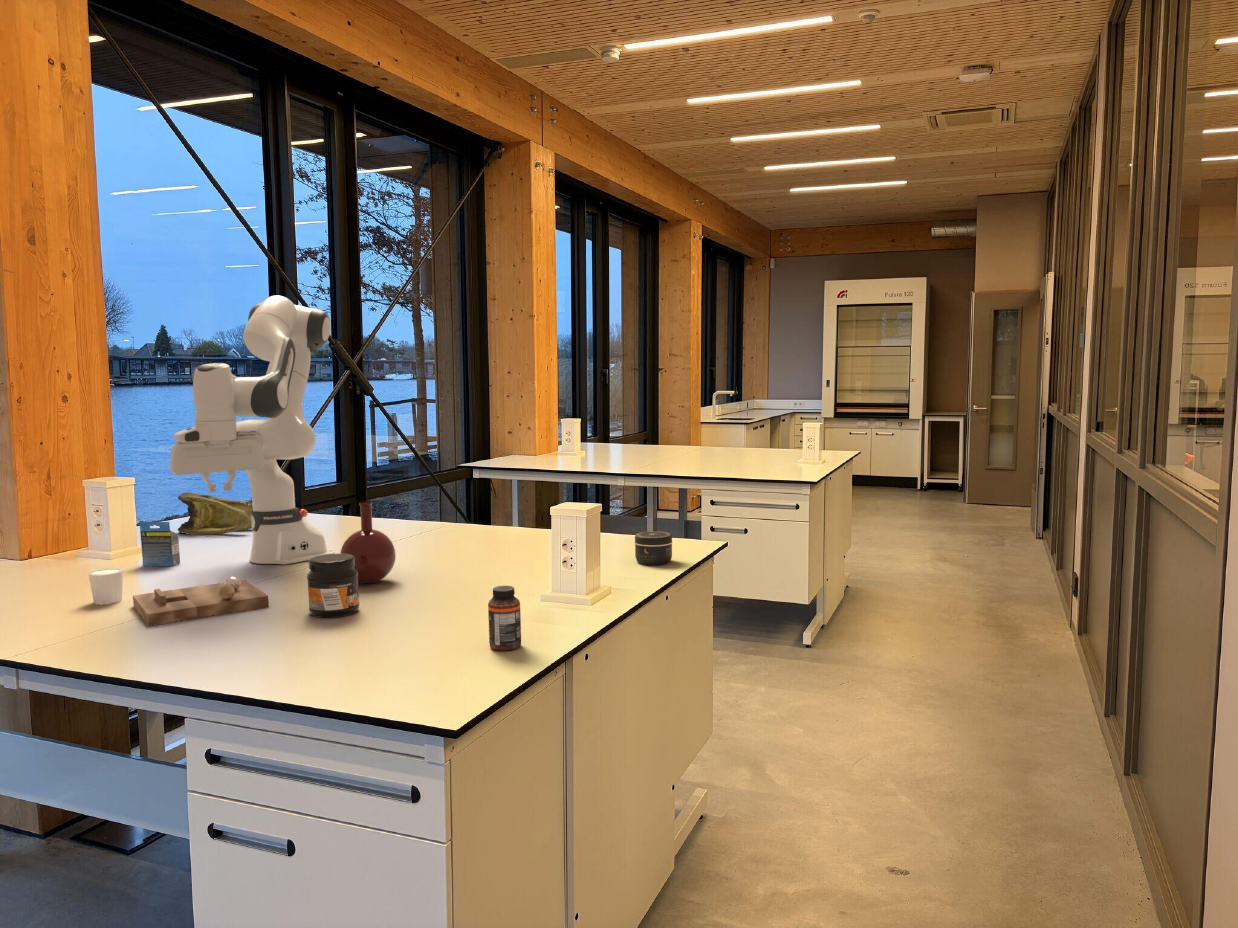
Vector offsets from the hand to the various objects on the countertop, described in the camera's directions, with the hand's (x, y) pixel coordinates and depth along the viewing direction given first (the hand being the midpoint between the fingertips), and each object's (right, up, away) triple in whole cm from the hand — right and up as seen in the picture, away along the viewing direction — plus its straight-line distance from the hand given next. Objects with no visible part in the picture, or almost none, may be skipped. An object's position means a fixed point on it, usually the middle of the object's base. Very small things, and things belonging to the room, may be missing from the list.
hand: (220, 490), depth 212 cm
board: (+1, -26, -12) cm, 28 cm away
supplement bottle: (+73, -28, -44) cm, 90 cm away
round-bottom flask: (+33, -23, +9) cm, 41 cm away
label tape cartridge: (-31, -22, +33) cm, 50 cm away
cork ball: (+9, -22, -16) cm, 28 cm away
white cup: (-23, -25, -6) cm, 35 cm away
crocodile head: (-36, -16, +84) cm, 93 cm away
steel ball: (+7, -21, -8) cm, 23 cm away
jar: (+104, -20, +27) cm, 109 cm away
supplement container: (+33, -26, -18) cm, 46 cm away
